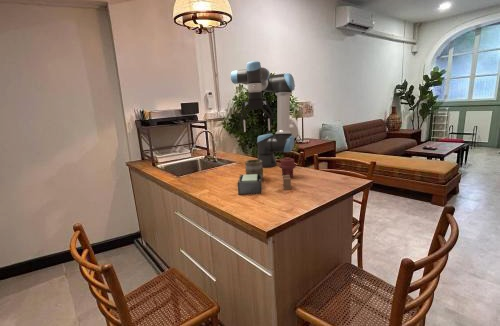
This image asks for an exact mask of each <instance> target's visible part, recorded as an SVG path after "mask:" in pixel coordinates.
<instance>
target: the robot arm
mask: <svg viewBox="0 0 500 326" xmlns="http://www.w3.org/2000/svg"><path fill="white" fill-rule="evenodd" d="M230 80H231V83H232V84H233V85H239V84H243V85H247V92H248V93H247V95H248V96H247V97H248V102H247V101H242V106H241V109H240V112H239V114H238V116H237V119H238V120H240V121H241V126H242V127H243V133H246V130H247V129H246V128H247V127H246V126H247V125H246V119H245V118H247V116H248V114H249V113H250V111H251V110H254V111H255V110H261V111H262V112H263V113H264V115H266V116H267V117H268V118H267V125H268V131H271V125H272V123H273V120H272V119H273V118H275V114H274V112H273V109H272V108H271V106H270V105H269V101H268V100H263V92H266V93H267V92H268V93H274V94H275V96H276V97H277V98H276V99H277V100H276V101H277V109H276V111H277V119H276V120H277V122H276V123H277V129H276V130H277V131H276V132H275V134H273V133H265V134H262V135H258V136H257V139H256V144H257V159H256V160H262V161H263V162H262V167H263V168H264V169H265V168H273V167H276V166H277V163H278V162H277V160H276V157H275V153H290V152H292V150H293V149H294V145H295V136H294V135H293V133H292V131H290V123H291V122H290V121H291V120H290V119H291V118H290V117H291V116H290V110H291V109H290V103H291V102H290V101H291V99H290V98H291V97H290V96H291V95H292V94H293V91H295V89H296V88H295V87H296V84H295V79H294V77H293V75H292V73H286V72H285V73H280V74H270V70H269V69H267V68H265V67H262V65H261V62H260V61H255V60H254V61H252V60H251V61H248V62H247V63H246V69H236V70H232V71H231V73H230ZM262 91H263V92H262ZM263 105H265V106H266V107H267V110H269V112H268V111H267V110H266V109H265V108H264V107H263ZM246 106H249V107H248V108H247V110H246V112H245V113H244V110H245V108H246ZM243 113H244V114H243ZM269 113H270V114H271V115H270V114H269ZM242 115H243V116H242Z"/></svg>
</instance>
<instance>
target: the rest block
mask: <svg viewBox="0 0 500 326" xmlns="http://www.w3.org/2000/svg"><path fill="white" fill-rule="evenodd" d="M282 183H283V184H282V185H283V190H284V191H290V190H292V178H290V175H283V176H282Z"/></svg>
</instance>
